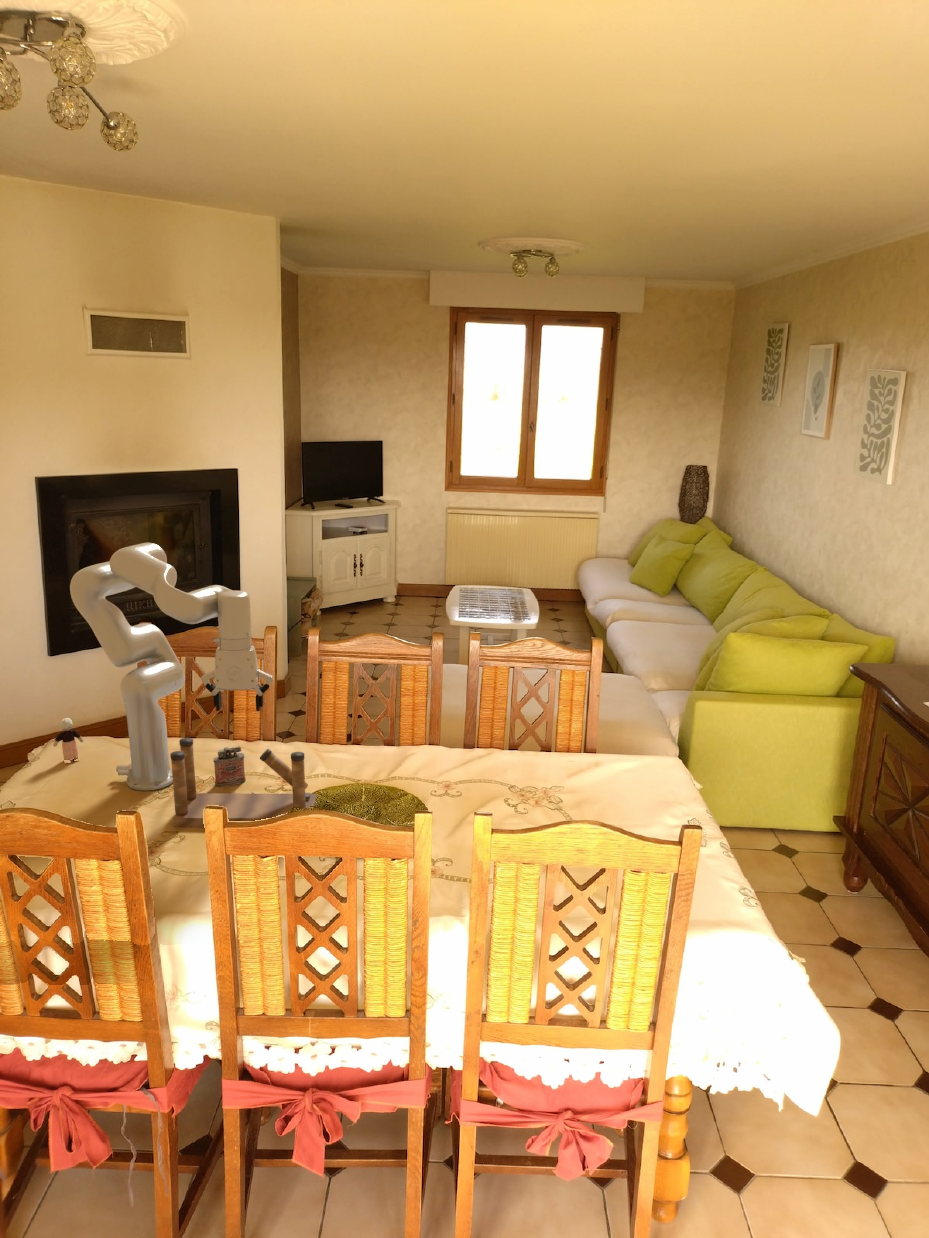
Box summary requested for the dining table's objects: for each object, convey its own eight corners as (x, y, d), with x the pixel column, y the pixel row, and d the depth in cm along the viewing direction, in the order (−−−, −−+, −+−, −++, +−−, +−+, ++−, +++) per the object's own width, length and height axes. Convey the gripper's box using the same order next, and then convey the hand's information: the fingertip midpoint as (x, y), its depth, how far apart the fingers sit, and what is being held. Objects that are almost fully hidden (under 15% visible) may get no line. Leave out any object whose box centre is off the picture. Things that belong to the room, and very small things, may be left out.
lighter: (216, 788, 247) (214, 753, 244) (213, 783, 250) (211, 748, 247) (247, 782, 251) (245, 747, 248) (243, 777, 253) (241, 743, 251)
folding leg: (258, 760, 232) (267, 752, 232) (260, 755, 235) (269, 746, 235) (298, 795, 235) (307, 787, 235) (300, 790, 238) (309, 781, 238)
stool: (173, 826, 227) (167, 758, 222) (187, 801, 239) (182, 736, 234) (310, 827, 228) (307, 758, 223) (316, 802, 240) (315, 736, 235)
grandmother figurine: (81, 755, 265) (76, 713, 262) (86, 759, 263) (82, 717, 259) (53, 762, 260) (48, 719, 257) (58, 767, 258) (53, 724, 254)
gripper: (195, 646, 222) (199, 714, 227) (269, 647, 222) (272, 715, 227) (202, 637, 229) (206, 703, 234) (274, 638, 230) (276, 703, 234)
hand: (238, 709), depth 230 cm, fingers open, 9 cm apart
